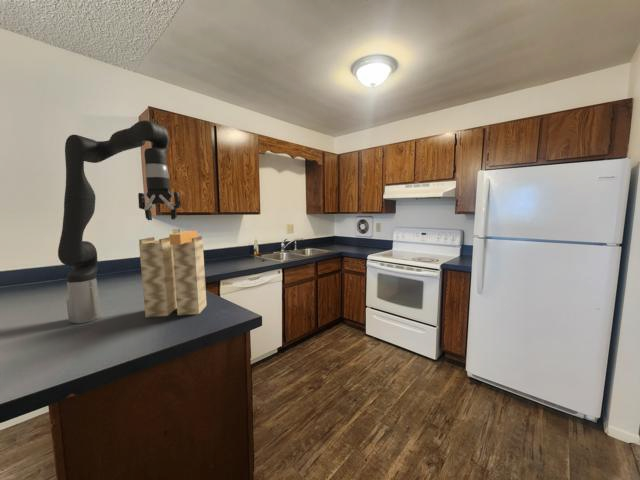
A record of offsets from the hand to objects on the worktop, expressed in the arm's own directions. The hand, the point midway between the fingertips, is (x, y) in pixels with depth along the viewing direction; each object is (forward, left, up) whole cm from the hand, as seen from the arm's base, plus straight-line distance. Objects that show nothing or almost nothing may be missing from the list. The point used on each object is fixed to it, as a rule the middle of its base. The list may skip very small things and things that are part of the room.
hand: (161, 219), depth 103 cm
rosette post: (-9, +14, -42) cm, 45 cm away
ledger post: (+4, +14, -42) cm, 44 cm away
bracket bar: (+4, +10, -10) cm, 15 cm away
